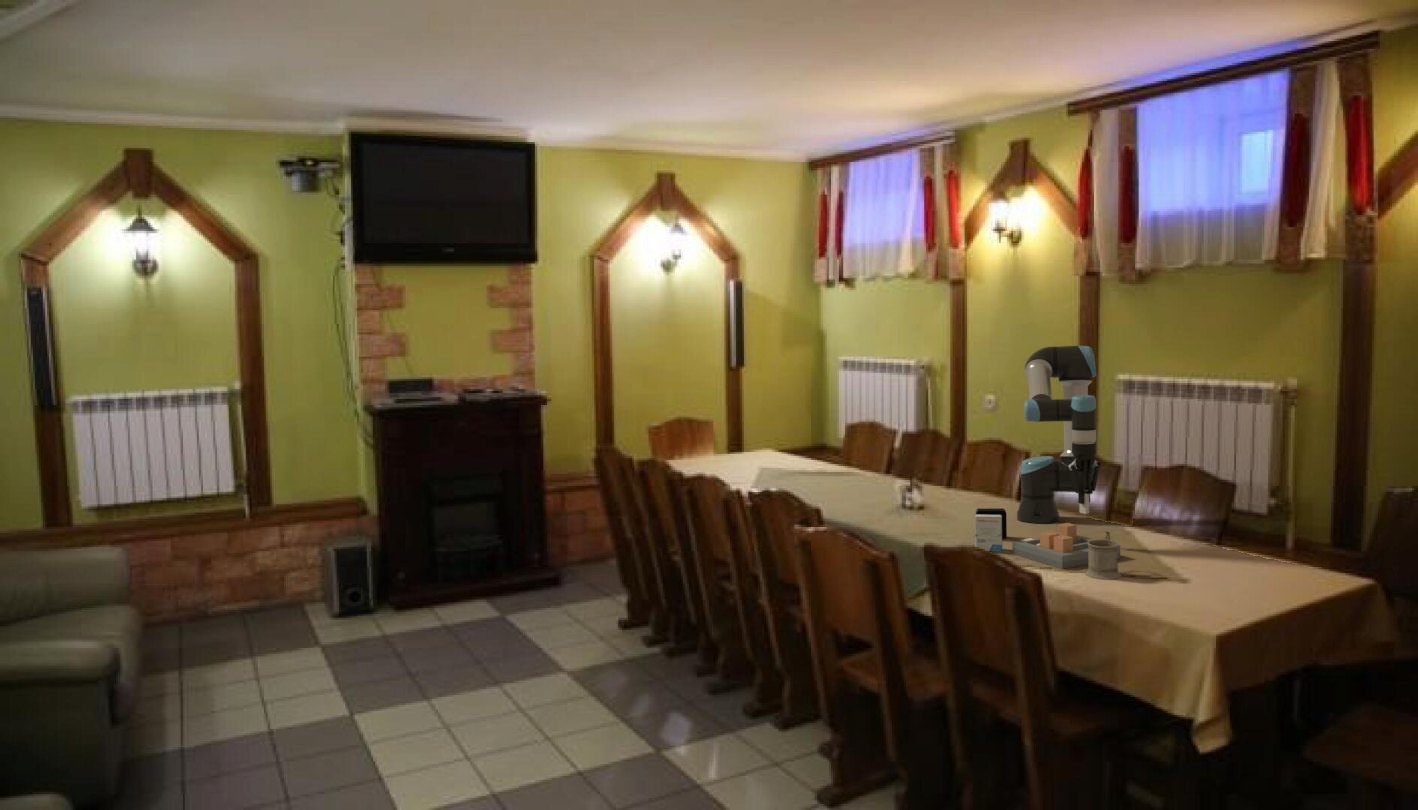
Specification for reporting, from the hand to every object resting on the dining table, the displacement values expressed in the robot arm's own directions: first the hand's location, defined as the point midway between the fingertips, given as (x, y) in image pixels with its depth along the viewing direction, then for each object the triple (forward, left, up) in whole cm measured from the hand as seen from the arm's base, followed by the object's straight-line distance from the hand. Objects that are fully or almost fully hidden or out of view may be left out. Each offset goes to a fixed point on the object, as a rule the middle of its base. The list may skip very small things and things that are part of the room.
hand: (1084, 513), depth 327 cm
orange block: (+20, +12, -9) cm, 25 cm away
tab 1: (+20, +6, -9) cm, 23 cm away
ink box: (+29, -13, -12) cm, 34 cm away
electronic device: (+17, -26, -12) cm, 33 cm away
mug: (+19, +27, -12) cm, 35 cm away
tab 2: (+7, 0, -9) cm, 11 cm away
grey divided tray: (+14, +6, -11) cm, 19 cm away
